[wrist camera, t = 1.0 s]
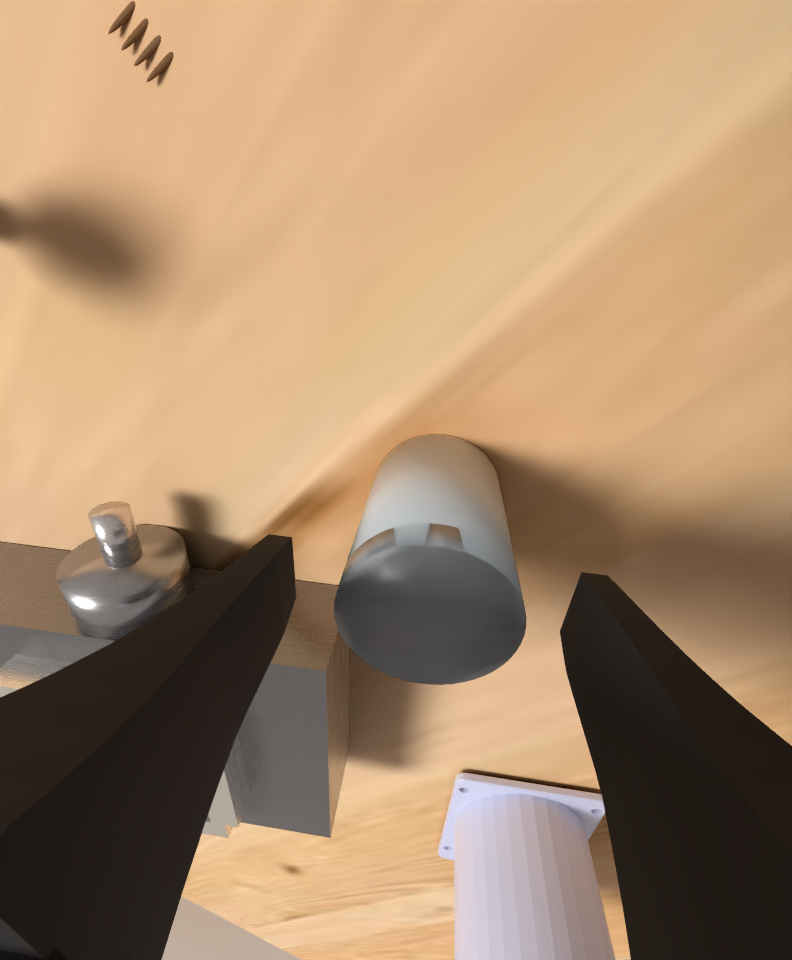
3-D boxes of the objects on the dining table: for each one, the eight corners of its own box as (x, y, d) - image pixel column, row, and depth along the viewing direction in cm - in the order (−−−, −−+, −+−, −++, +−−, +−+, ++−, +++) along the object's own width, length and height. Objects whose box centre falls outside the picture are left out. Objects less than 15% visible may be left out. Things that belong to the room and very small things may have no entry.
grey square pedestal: (348, 749, 23) (323, 870, 19) (77, 707, 24) (-8, 811, 20) (351, 506, 16) (310, 611, 11) (-46, 460, 17) (-230, 538, 12)
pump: (487, 548, 16) (505, 695, 11) (372, 534, 16) (334, 670, 11) (510, 441, 14) (547, 558, 8) (376, 427, 14) (332, 533, 9)
